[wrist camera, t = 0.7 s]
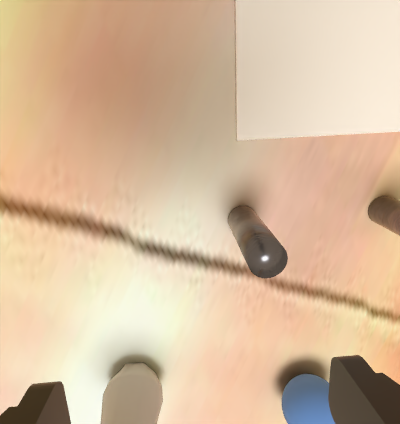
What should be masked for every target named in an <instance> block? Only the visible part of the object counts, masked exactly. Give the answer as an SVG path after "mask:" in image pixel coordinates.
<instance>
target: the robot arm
mask: <svg viewBox="0 0 400 424" xmlns="http://www.w3.org/2000/svg"><path fill="white" fill-rule="evenodd" d="M328 401H329V407H330V411H331V415H332V417H333V420H334V422H335V424H400V385H399V384H398V383H396V382H395V381H393V380H392V379H391V378H389V377H388V376H386V375H385V374H383V373H375V372H374V371H373V370H372V368H371V367H370V366H369V365H368V364H367V362H366V361H365V360H364V359H363V358H362V357H361V356H359V355H354V356H343V357H334V358H332V360H331V368H330V381H329V394H328ZM0 424H71V421H70V416H69V411H68V406H67V401H66V396H65V391H64V386H63V384H62V382H48V383H38V384H32V385H31V386H30V387H29V388H28V390H27V391H26V393H25V395H24V397H23V398H22V400H21V402H20V403H19V405H18V407H9V408H8V409H7V410H6V411H5V412H4V413H2V414H1V415H0Z"/></svg>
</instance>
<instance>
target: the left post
mask: <svg viewBox="0 0 400 424" xmlns="http://www.w3.org/2000/svg"><path fill="white" fill-rule="evenodd" d="M228 224H229V226H230V228H231V230H232V233H233V235H234V237H235V239H236V241H237V243H238V245H239V247H240V249H241V252H242V254H243V256H244V258H245V260H246V262H247V264H248V266H249V269H250V270H251V272H252V273H253V274H254V275H256V276H258V277H261V278H271V277H274V276H276V275H278V274H279V273H281V272H282V271H283V269H284V268H285V266H286V264H287V259H288V258H287V253H286V250H285V249H284V248H283V246H282V245H281V244H280V243H279V241H278V240H277V239H276V238H275V236H274V235H273V234H272V233H271V231H270V230H269V229H268V228H267V226H266V225H265V224H264V223H263V221H262V220H261V219H260V218H259V216H258V215H257V214H256V213H255V211H254V210H253V209H252V208H250V207H248V206H238V207H236V208H234V209H233V210H232V211H231V212H230V214H229V217H228Z"/></svg>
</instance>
